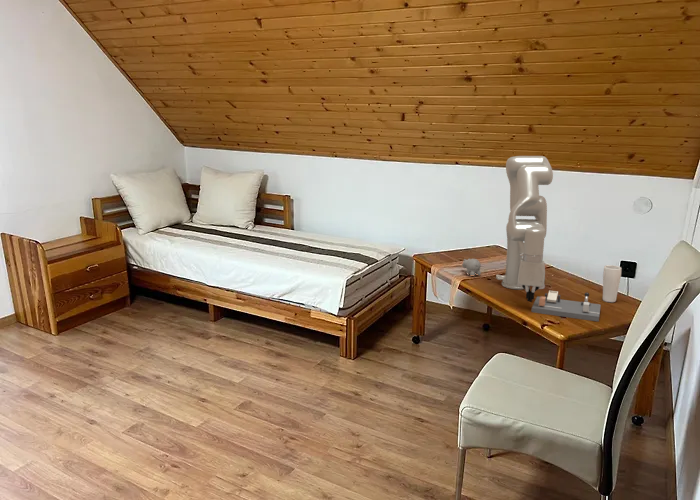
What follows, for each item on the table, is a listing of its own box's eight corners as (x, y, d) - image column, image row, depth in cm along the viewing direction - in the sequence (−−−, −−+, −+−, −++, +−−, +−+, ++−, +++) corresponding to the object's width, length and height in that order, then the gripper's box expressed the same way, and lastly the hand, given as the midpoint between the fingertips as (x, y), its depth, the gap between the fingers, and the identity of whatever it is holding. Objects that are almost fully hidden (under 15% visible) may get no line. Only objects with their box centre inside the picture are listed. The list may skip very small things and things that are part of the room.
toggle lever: (583, 302, 220) (584, 291, 221) (583, 303, 222) (584, 292, 223) (588, 303, 220) (589, 292, 220) (588, 304, 221) (589, 292, 222)
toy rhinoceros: (469, 270, 279) (470, 254, 277) (483, 276, 268) (484, 259, 266) (457, 271, 277) (458, 255, 274) (470, 278, 266) (471, 261, 264)
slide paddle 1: (539, 305, 220) (539, 298, 219) (540, 303, 223) (540, 296, 222) (544, 306, 219) (544, 299, 218) (545, 303, 222) (545, 296, 221)
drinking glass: (603, 303, 229) (606, 269, 225) (598, 297, 235) (602, 264, 232) (620, 303, 228) (624, 269, 224) (615, 298, 234) (618, 265, 231)
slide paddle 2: (582, 311, 213) (583, 304, 212) (583, 308, 215) (584, 301, 215) (588, 312, 212) (589, 304, 211) (588, 309, 215) (589, 302, 214)
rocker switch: (546, 301, 224) (546, 299, 224) (549, 292, 230) (549, 290, 229) (555, 302, 223) (556, 300, 222) (558, 293, 228) (558, 291, 228)
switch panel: (531, 312, 220) (532, 300, 219) (536, 300, 233) (537, 290, 232) (598, 321, 209) (599, 310, 208) (600, 309, 222) (601, 298, 221)
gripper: (512, 258, 218) (509, 300, 223) (551, 262, 212) (547, 306, 216) (515, 253, 225) (513, 295, 229) (553, 257, 218) (550, 300, 223)
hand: (529, 300), depth 223 cm, fingers closed
